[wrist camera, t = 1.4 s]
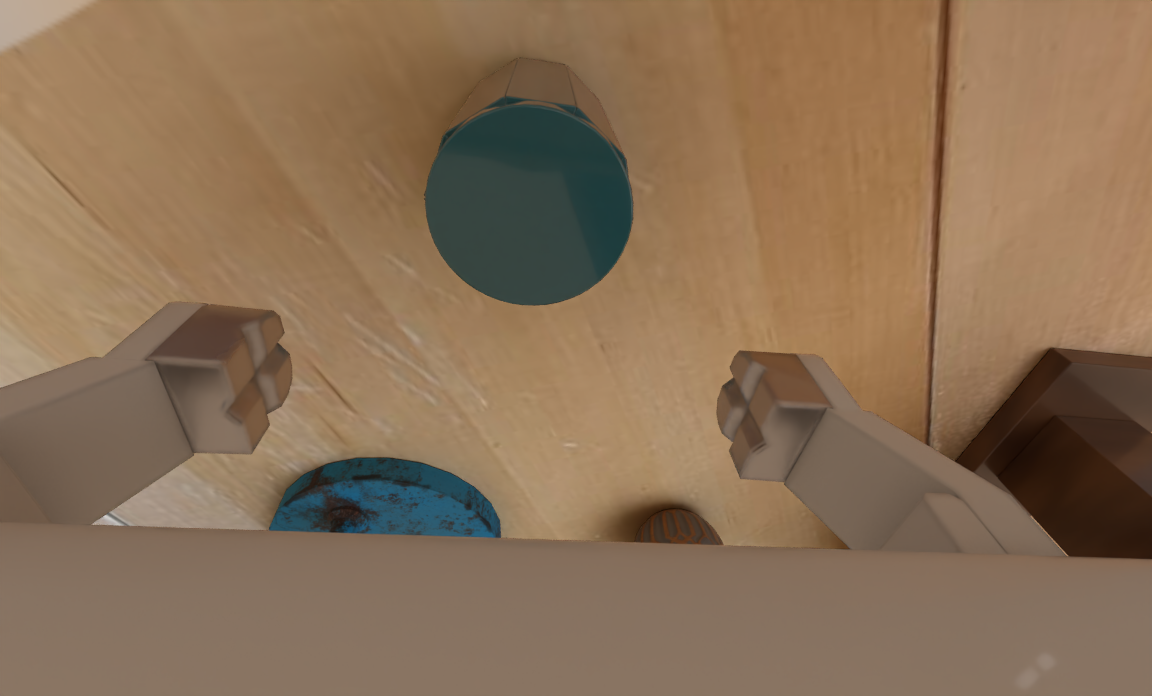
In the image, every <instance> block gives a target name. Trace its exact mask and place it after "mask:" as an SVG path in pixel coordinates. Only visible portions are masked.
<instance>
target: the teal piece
mask: <svg viewBox="0 0 1152 696" xmlns="http://www.w3.org/2000/svg"><path fill="white" fill-rule="evenodd" d="M424 196H425V198H424V200H425V209H426V218H427V222H428V226H429V230H430V233H431V236H432V238H433V241H434V243H435V245H436V247H437V249H438V251H439V253H440V254H441V256H442V257H443V259H444V260H445V261H446V263H447V264H448V266H449V267H450V268H451V269H452V270H453V271H454V272H455V273H456V274H457V275H458V276H459V277H460V278H461V279H462V280H464V281H465V282H466V283H467V284H469V285H470V286H472V287H473V288H475V289H476V290H478V291H480V292H482V293H483V294H485V295H487V296H490V297H492V298H495V299H497V300H500V301H504V302H508V303H512V304H519V305H534V306H535V305H547V304H553V303H558V302H561V301H565V300H568V299H571V298H573V297H575V296H577V295H580V294H582V293H583V292H585V291H587V290H588V289H590V288H591V287H593V286H594V285H595V284H597V283H598V282H599V281H601V280H602V279H603V278H604V277H605V276H606V275H607V274H608V273H609V271H610V270H611V269H612V268H613V266H614V265H615V264H616V263H617V261H618V259H619V258H620V256H621V254H622V253H623V251H624V248H625V246H626V244H627V241H628V238H629V235H630V231H631V227H632V223H633V222H632V221H633V196H632V189H631V185H630V181H629V176H628V167H627V159H626V157H625V155H624V153H623V151H622V149H621V146H620V144H619V142H618V140H617V138H616V136H615V133H614V131H613V129H612V127H611V125H610V123H609V120H608V118H607V116H606V114H605V112H604V110H603V107H602V105H601V103H600V101H599V99H598V98H597V97H596V96H595V95H594V94H593V93H592V92H591V91H590V89H589V88H588V87H587V86H586V85H585V84H584V83H583V82H582V81H581V80H580V79H579V78H578V76H577V75H576V74H575V73H574V72H573V71H572V70H571V69H570V68H569V67H568V66H566V65H565V64H560V63H553V62H547V61H540V60H534V59H527V58H521V57H520V58H519V59H518V58H516V59H514V60H513V61H511V62H510V63H508V64H507V65H505V66H503V67H502V68H500V69H499V70H497V71H496V72H494V73H493V74H491V75H489V76H488V77H486V78H485V79H483V80H482V81H480V82H479V83H478V84H477V85H476V87H475V88H474V90H473V91H472V93H471V94H470V96H469V97H468V99H467V100H466V102H465V103H464V105H463V106H462V108H461V109H460V111H459V112H458V114H457V115H456V117H455V118H454V120H453V121H452V123H451V124H450V126H449V127H448V129H447V130H446V132H445V133H444V135H443V137H442V140H441V143H440V146H439V149H438V153H437V156H436V158H435V160H434V162H433V164H432V167H431V170H430V173H429V176H428V180H427V186H426V190H425V194H424Z"/></svg>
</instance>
